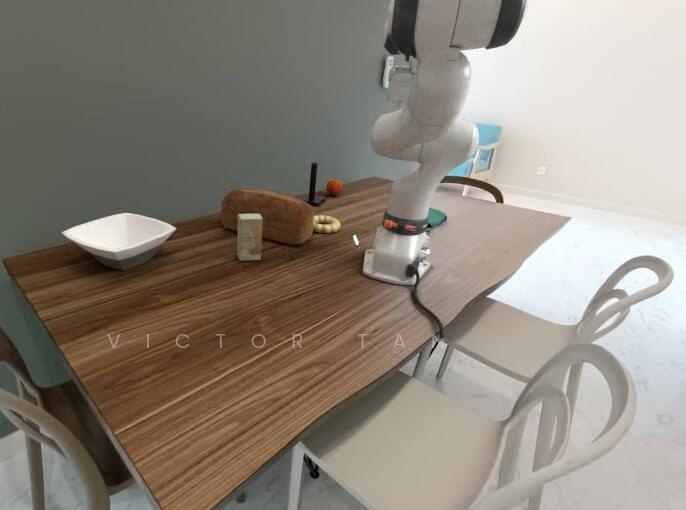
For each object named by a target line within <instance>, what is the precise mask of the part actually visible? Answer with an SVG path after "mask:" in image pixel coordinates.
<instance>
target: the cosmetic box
mask: <svg viewBox="0 0 686 510" xmlns="http://www.w3.org/2000/svg"><path fill="white" fill-rule="evenodd" d="M262 223H263V218H262V216H261V215H260V214H238V231H237V245H236V246H237V247H236V249H237V253H236V255H237V258H238V260H239V262H242V261H261V260H262V242H263V238H262Z"/></svg>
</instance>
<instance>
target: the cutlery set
mask: <svg viewBox="0 0 686 510" xmlns="http://www.w3.org/2000/svg"><path fill="white" fill-rule="evenodd" d="M428 217H429V219H428V225H429V224H430V226H431V227H432V228H429V227H428V228H426V230H425V232H426V235H427V236H428V237H429V234H431V232H433V231H434V229H433V228H435V227H437V226H439V224H442V223H445V222H446V221H447V220H448V216H447V213H445V212H443V211H441V210H440V209H434V208H431V207H430V208H429V212H428Z"/></svg>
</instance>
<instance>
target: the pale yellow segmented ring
mask: <svg viewBox="0 0 686 510" xmlns="http://www.w3.org/2000/svg"><path fill="white" fill-rule="evenodd" d="M341 227H342V224H341V222H340V220H338V218H336V217H334V216H329V215H325V214H323V215H321V214H320V215H319V214H315V215H314V223H313V233H318V234H332V233H336V232H338V231H339V230H340V229H341Z"/></svg>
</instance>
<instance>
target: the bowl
mask: <svg viewBox="0 0 686 510" xmlns="http://www.w3.org/2000/svg"><path fill="white" fill-rule="evenodd" d="M176 230H177V227H175V226H173V225H172V224H170V223H168V222H165V221H162V220H159V219H157V218H153V217H149V216H147V215H141V214H138V213H137V214H135V213H130V212H122V213H117V214H112V215H108V216H104V217H102V218H97V219H94V220H91V221H88V222H85V223H81V224H78V225H74V226H73V227H71V228H67V229H66V230H64V231H61V234H62V235H63V236H64V237H66V238H67V239H68V240H69V241H71V242H72V243H74V244H76V245H77V246H79V247H80V248H81V249H83V250H84V251H86V252H88V253H89V254H90V255H91V256H92V257H94V258H95V259H96V260H97V261H98V262H100V263H101V264H102V265H104V266H106V267H109V268H112V269H115V270H120V271H126V270H130V269H133V268H135V267H138V266H140V265H142V264H144V263H146V262H148V261H150V260H151V259H152V258H154V256H155V255H156V253H157V252H158V250H160V248H161V246H162V245H163V243H165V242H166V241H167V240H168V239H169V238H170V237H171V235H172V234H173V233H174V232H175V231H176Z"/></svg>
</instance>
